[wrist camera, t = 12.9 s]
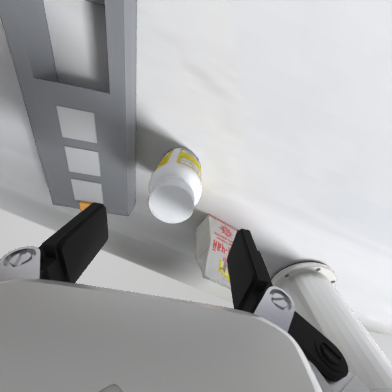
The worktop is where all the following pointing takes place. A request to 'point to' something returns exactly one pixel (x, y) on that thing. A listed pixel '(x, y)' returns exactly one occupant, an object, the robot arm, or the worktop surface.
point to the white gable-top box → (214, 249)
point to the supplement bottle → (175, 186)
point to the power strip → (79, 109)
